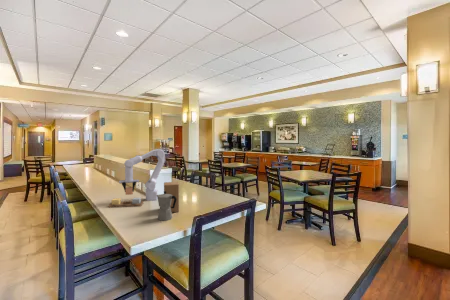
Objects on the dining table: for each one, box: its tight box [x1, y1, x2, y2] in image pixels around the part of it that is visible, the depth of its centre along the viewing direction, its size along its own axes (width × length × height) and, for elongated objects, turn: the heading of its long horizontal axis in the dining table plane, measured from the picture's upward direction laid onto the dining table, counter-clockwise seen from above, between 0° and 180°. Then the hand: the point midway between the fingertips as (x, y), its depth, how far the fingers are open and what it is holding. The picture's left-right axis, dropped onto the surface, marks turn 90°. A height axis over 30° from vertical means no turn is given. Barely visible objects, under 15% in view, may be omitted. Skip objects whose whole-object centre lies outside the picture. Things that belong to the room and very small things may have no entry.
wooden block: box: [163, 181, 180, 214], centre depth 161 cm, size 10×10×20 cm
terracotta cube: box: [125, 186, 134, 196], centre depth 179 cm, size 5×5×5 cm
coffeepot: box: [156, 190, 177, 222], centre depth 145 cm, size 15×9×18 cm, turn 69°
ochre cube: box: [111, 197, 122, 205], centre depth 170 cm, size 5×5×5 cm
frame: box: [108, 200, 144, 209], centre depth 172 cm, size 23×8×3 cm, turn 98°
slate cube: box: [131, 197, 142, 204], centre depth 173 cm, size 5×5×5 cm
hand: (129, 191), depth 179 cm, fingers closed on terracotta cube, 5 cm apart
